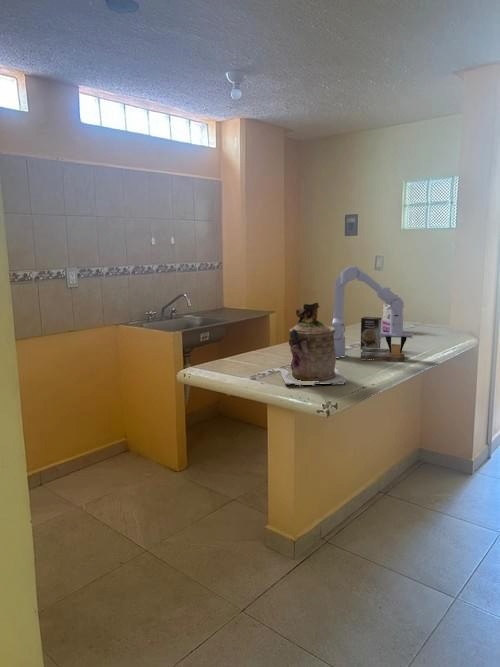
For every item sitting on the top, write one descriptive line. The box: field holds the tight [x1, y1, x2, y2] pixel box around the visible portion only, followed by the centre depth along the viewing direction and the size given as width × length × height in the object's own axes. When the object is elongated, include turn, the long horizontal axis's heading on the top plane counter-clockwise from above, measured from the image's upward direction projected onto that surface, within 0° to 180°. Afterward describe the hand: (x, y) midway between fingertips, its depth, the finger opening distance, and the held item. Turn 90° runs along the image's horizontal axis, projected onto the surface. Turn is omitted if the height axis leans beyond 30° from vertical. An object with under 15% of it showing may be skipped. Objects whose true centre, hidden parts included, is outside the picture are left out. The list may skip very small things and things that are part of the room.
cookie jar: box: [279, 301, 347, 386], centre depth 200 cm, size 25×25×32 cm
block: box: [391, 343, 401, 356], centre depth 230 cm, size 4×4×4 cm
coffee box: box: [360, 316, 382, 349], centre depth 251 cm, size 9×6×16 cm
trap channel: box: [360, 348, 406, 363], centre depth 232 cm, size 20×11×4 cm, turn 73°
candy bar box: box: [382, 303, 391, 332], centre depth 291 cm, size 11×5×16 cm, turn 25°
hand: (395, 352), depth 230 cm, fingers closed on block, 4 cm apart
